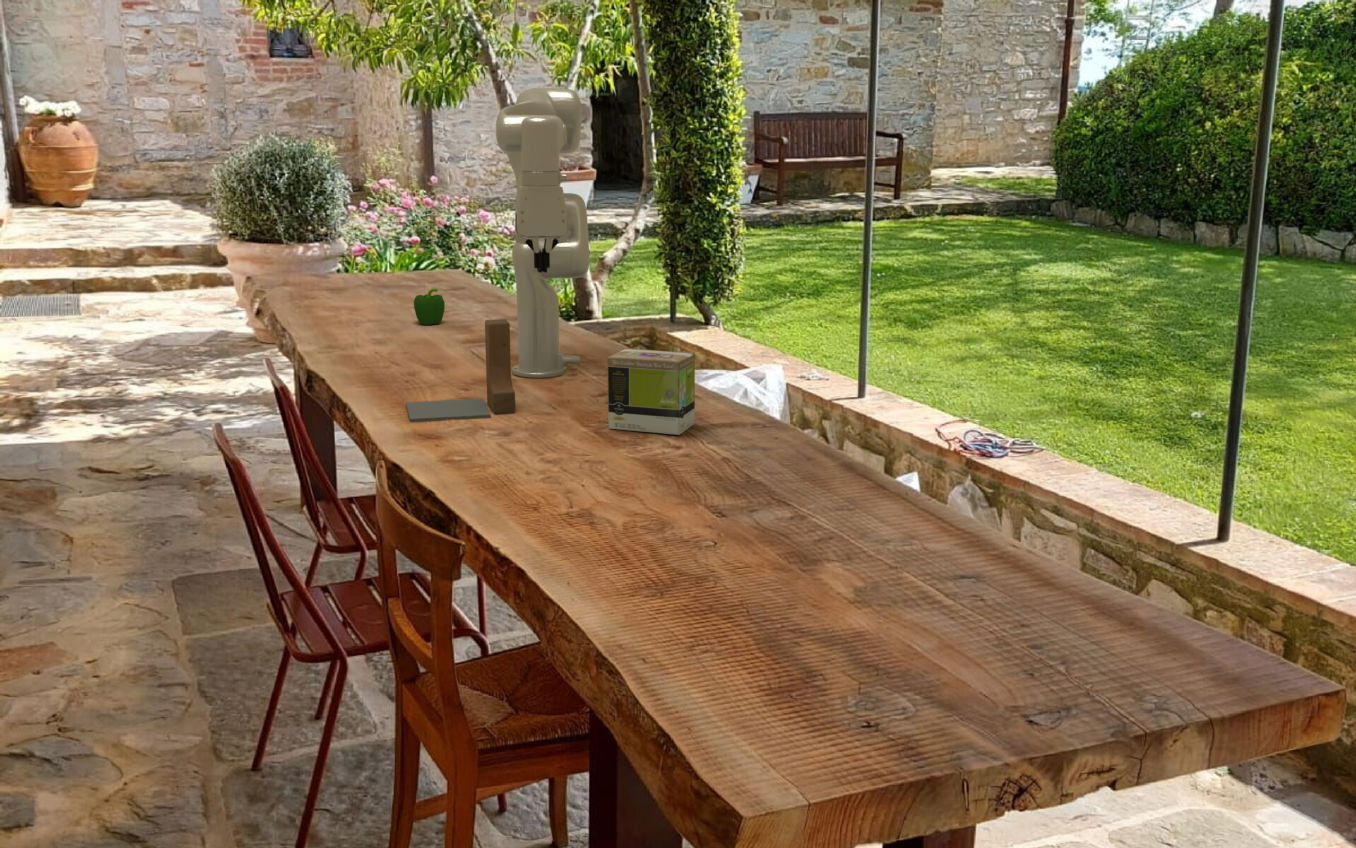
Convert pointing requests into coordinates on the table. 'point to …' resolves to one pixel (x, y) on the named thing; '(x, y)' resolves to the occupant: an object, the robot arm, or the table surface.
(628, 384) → the tea box
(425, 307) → the bell pepper
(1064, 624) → the table surface
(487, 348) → the wooden block
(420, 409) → the mat
